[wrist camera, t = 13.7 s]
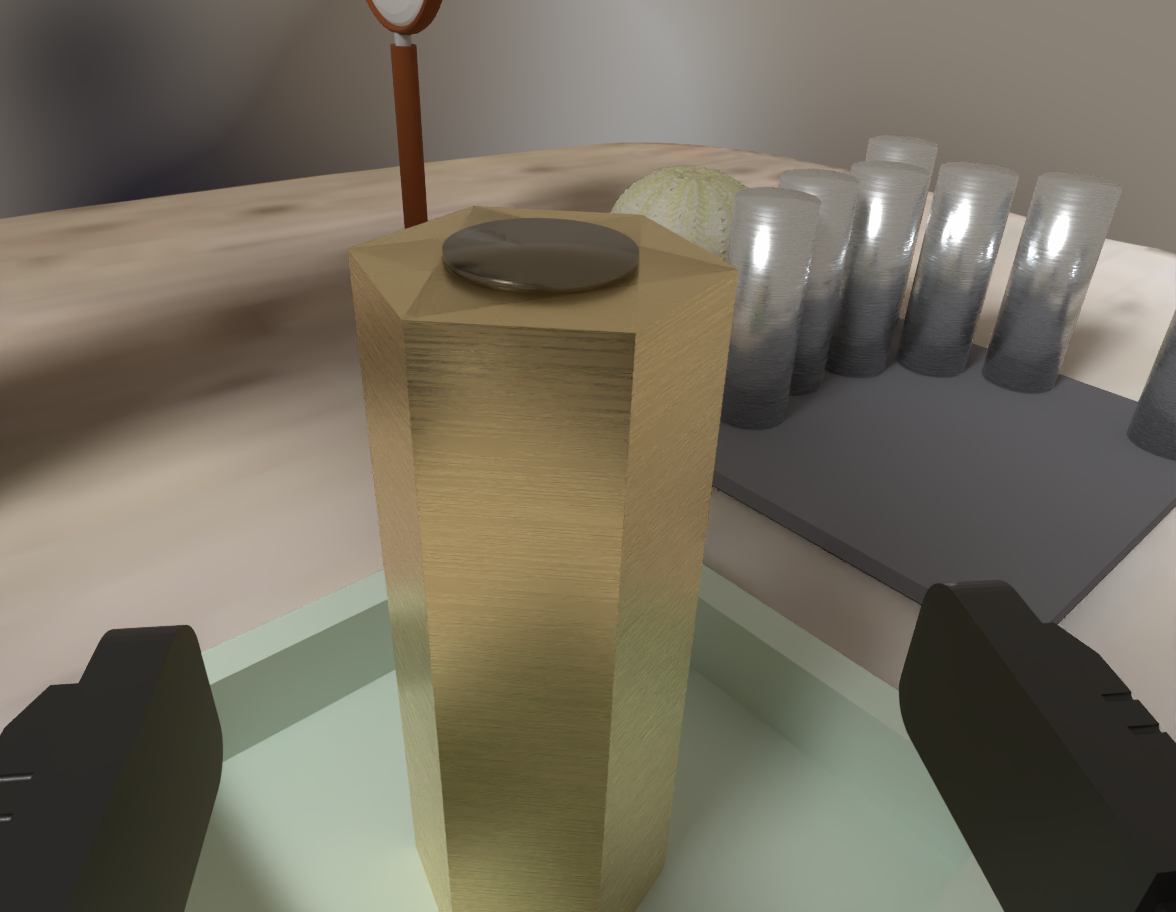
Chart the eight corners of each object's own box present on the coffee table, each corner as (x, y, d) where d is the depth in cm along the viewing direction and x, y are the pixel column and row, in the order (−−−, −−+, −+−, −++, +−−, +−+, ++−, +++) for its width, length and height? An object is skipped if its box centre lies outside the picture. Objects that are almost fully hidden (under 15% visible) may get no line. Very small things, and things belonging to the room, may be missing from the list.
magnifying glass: (369, 250, 49) (324, -193, 39) (397, 245, 50) (361, -189, 40) (444, 299, 44) (415, -206, 33) (474, 292, 44) (456, -201, 34)
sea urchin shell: (769, 204, 53) (789, 124, 46) (760, 326, 52) (778, 265, 44) (619, 193, 54) (612, 114, 46) (604, 313, 52) (595, 251, 45)
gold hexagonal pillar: (697, 922, 16) (801, 291, 10) (480, 1028, 15) (437, 353, 8) (582, 731, 20) (604, 182, 13) (398, 798, 18) (324, 210, 12)
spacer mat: (590, 415, 34) (590, 401, 34) (846, 311, 44) (848, 300, 43) (1020, 660, 23) (1027, 644, 23) (1231, 450, 33) (1237, 436, 33)
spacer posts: (652, 387, 35) (668, 181, 31) (857, 304, 43) (892, 133, 39) (1068, 597, 25) (1177, 332, 20) (1233, 436, 33) (1335, 223, 29)
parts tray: (53, 842, 18) (7, 741, 16) (573, 566, 26) (575, 481, 25) (438, 1753, 9) (417, 1724, 8) (1040, 912, 17) (1090, 815, 16)
